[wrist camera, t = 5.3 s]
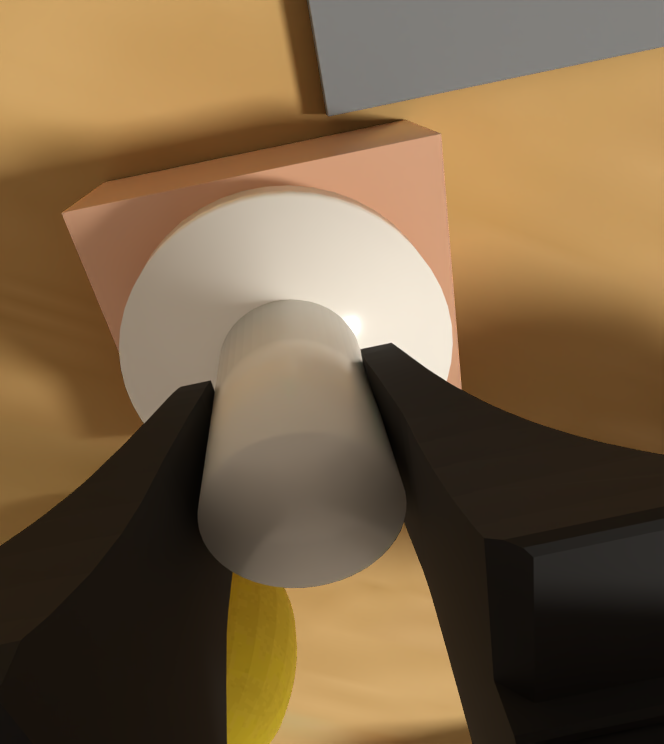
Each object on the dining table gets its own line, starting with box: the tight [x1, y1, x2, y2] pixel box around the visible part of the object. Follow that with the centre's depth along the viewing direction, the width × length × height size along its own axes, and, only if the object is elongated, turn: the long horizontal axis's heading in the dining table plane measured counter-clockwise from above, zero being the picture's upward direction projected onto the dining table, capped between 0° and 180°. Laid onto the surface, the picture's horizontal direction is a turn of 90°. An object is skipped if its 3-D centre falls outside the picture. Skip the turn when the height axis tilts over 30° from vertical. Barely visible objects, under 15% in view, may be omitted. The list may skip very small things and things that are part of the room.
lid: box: [119, 185, 453, 588], centre depth 11 cm, size 7×7×6 cm
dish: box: [62, 120, 462, 390], centre depth 15 cm, size 8×8×4 cm
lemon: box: [226, 573, 297, 744], centre depth 18 cm, size 6×6×8 cm
